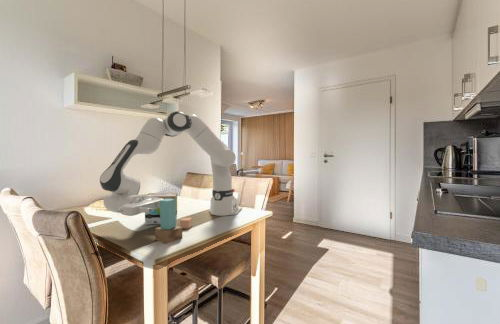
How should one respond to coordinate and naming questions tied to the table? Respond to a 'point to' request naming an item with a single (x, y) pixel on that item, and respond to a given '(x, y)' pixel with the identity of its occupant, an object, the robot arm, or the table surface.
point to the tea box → (154, 215)
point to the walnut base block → (168, 234)
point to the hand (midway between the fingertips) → (157, 207)
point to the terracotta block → (186, 222)
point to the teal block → (167, 214)
